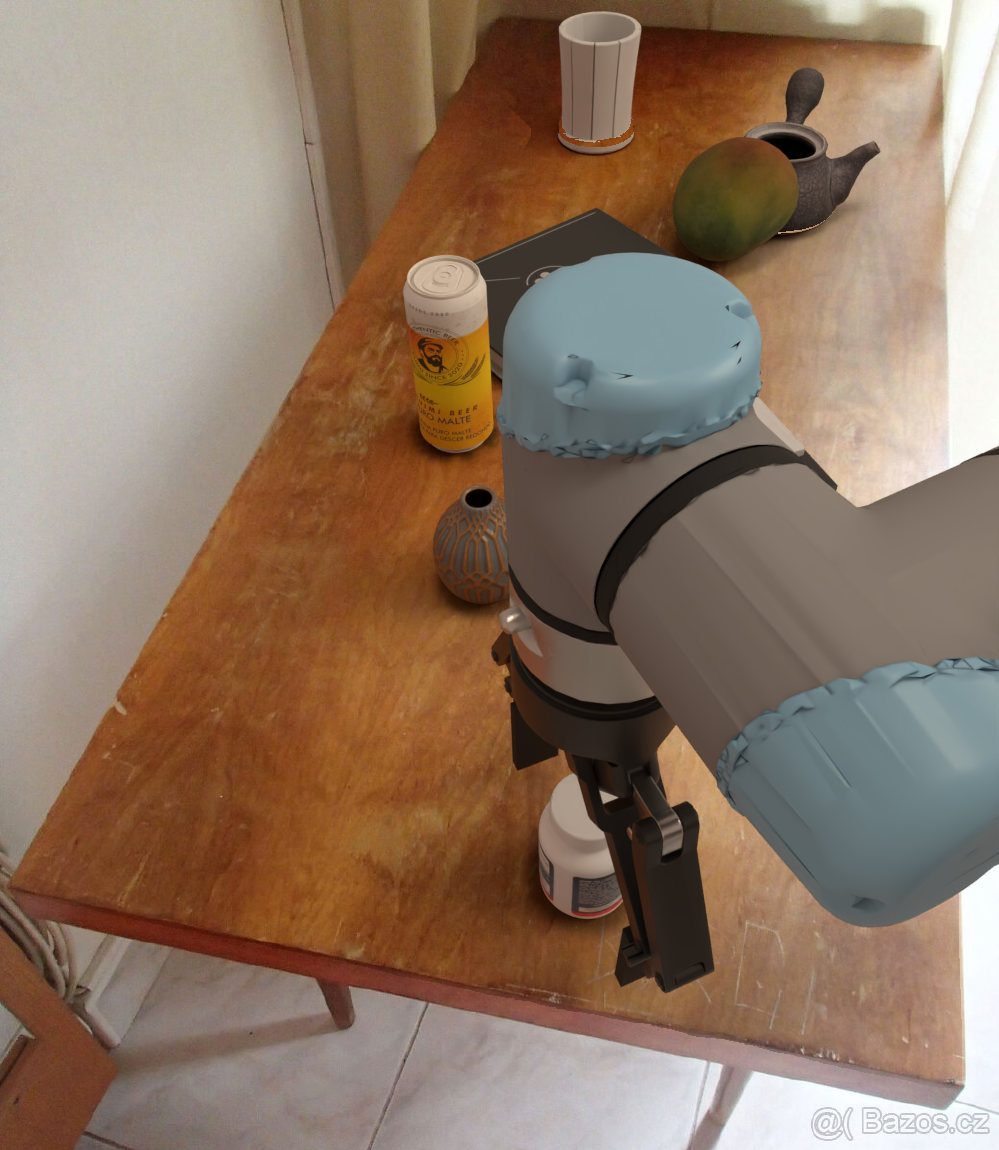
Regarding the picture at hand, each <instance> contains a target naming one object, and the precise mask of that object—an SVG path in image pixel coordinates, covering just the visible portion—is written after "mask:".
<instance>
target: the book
mask: <svg viewBox="0 0 999 1150" xmlns="http://www.w3.org/2000/svg"><path fill="white" fill-rule="evenodd" d="M616 253H650V254H658V255H665V256H670V257H675V258H678V257H677V256H675V255H674V254H672V253H671V252H669V251H667V250H666V249H664V248H662V247H661V246H660V245H658V244H657V243H655V242H653V241H652V240H649V239H648V238H646V237H645V236H644V235H642V234H640V233H638V232H637V231H635V230H634V229H632V228H631V227H629V226H627V225H626V224H624V223H623V222H621V221H619V220H618V219H616V218H615V217H613V216H611V215H610V214H608V213H606V211H603V210H602V209H600V208H599V207H594V208H592V209H589V210H587V211H585V212H583V213H581V214H578V215H575V216H573V217H571V218H569V219H567V220H564V221H562V222H560V223H557V224H555V225H553V226H551V227H548V228H546V229H544V230H541V231H539V232H537V233H535V234H534V233H533V235H530V236H527V237H525V238H523V239H521V240H519V241H516V242H513V243H511V244H509V245H507V246H505V247H503V248H500V249H498V250H496V251H493V252H491V253H488V254H486V255H483V256H481V257H480V258H479V257H478V258H477V259H475V260H471V261H472V262H473V263H475V264H476V265H477V267H478V268H479V270H480V274H481V276H482V277H483V279H484V280H485V283H486V289H487V309H488V328H489V347H490V366H491V374H493V375H495V377H497V378H499V380H501V381H502V376H503V338H504V332H505V327H506V325H507V322H508V319H509V317H510V315H511V313H512V311H513V309H514V308H515V306H516V304H517V302H518V301H519V300H520V298H521V297H522V296H523V295H524V294H525V292H526V291H527V290H528V289H529V288H531V287H532V286H533V285H534V284H535V283H537V282H538V281H539V280H540V279H542V278H544V277H545V276H547V275H548V274H550V273H552V272H553V271H555V270H557V269H559V268H561V267H566V266H574V265H576V264H580V263H584V262H586V261H588V260H590V259H591V258H592V257H596V256H601V255H608V254H616Z"/></svg>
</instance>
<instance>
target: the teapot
mask: <svg viewBox="0 0 999 1150" xmlns="http://www.w3.org/2000/svg"><path fill="white" fill-rule="evenodd" d="M824 90H825V78H824V76H823V73H821V72H820V71H819V70H817V69H815V68H812V67H808V66H807V67H801V68H799V69H797V70H795V71H794V72H792V75H791V76H790V78H789V80H788V82H787V85H786V90H785V94H784V99H785V110H786V118H785V121H773V122H767V123H764V124H760V125H756V126H754V127H752V128H750V129H749V130H748V131H747V132H746V133H745V134H744V136H743V137H750V138H756V139H760V140H763V141H766V142H768V143H770V144H771V145H773V146H775V147H776V148H778V149H779V150H780V151H781V152H782V153H783V154H785V155H786V157H787V158H788V159H789V161H790V162H791V164H792V165H793V167H794V169H795V172H796V174H797V179H798V185H799V197H798V202H797V205H796V208H795V210H794V212H793V214H792V216H791V218H790V219H789V221H788V222H787V224H786V225H785V226H784V227H783V228H782V229H781V230H780V231H779V232H786V231H794V230H802V229H806V228H809V227H813V226H815V225H817V224H820V223H821V222H823V221H824V220H826V219H827V218H828V217H829V216H830V215H831V216H832V215H833V213H834V212H835V210H836V208H837V207H838V206H839V205H842V204H843V203H844V202H846V200H847V198H849V196H850V194H851V191H852V189H853V187H854V185H855V183H856V181H857V179H858V177H859V176H860V174H861V172H862V170H863V169H864V167H865V166H866V165H867V164H868V163H869V162H870V161H871V160H872V159H873V158H875V157H876V156H878V155H879V154H881V152H882V151H881V148H880V146H878V144H877V142H876V141H874V140H872V141H870V142H868V143H865V144H862V145H859V146H858V147H856V148H854V149H853V150H851V151H849V152H848V153H847V154H845V155H842V156H838V157H835V158H834V157H833V158H830V157H829V156H827V150H828V147H829V144H828V141H827V139H826V137H825V136H824V135H823V134H822V133H821V132H819V131H818V130H817V129H815V128H813V127H811V126H808V125H805V121H806V119H807V118H808V117H809V116H810V114H811V113H812V112H813V111H814V110H815V109H816V108H817V107H818V105H819V104H820V102H821V100H822V96H823V92H824ZM833 211H834V212H833ZM832 212H833V213H832ZM831 216H830V217H831ZM830 217H829V218H830ZM829 218H828V219H829ZM828 219H827V220H828ZM827 220H826V221H827ZM818 227H819V226H817V227H815V228H816V229H817V228H818ZM815 228H812V229H809V230H806V231H802V232H797V233H796V234H799V233H800V234H801V233H804V232H808V231H811V230H814V229H815ZM792 234H794V233H781V234H780V235H792ZM776 235H779V234H778V233H777V234H776Z"/></svg>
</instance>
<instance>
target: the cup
mask: <svg viewBox="0 0 999 1150" xmlns="http://www.w3.org/2000/svg"><path fill="white" fill-rule="evenodd" d="M641 36H642V25H641V23H640V22H639V21H638V20H637V19H635V18H634V17H632V16H630V15H627V14H623V13H619V12H614V11H613V12H612V11H589V12H583V13H578V14H575V15H571V16H570V17H568V18H565V19H564V20H563V21H562V22H561V23H560V25H558V38H559V39H558V40H559V54H560V56H559V57H560V77H561V118H562V128H563V129H564V130H565V132H566V133H563V134H566V136H567V137H569V138H579V139H575V140H579V141H584V142H593V143H595V142H596V141H597V140H604V139H609V138H616V137H621V136H620V135H622V134H623V133H625V132H626V131H627V130H628V129H629V127H630V124H631V119H632V110H633V109H632V107H633V96H634V87H635V78H636V70H637V63H638V57H639V56H638V55H639V49H640V42H641ZM634 134H635V131H634V132H633V134H632V135H631V137H630V138H628V139H627V140H625V141H624V142H621V143H619V144H616V145H612V146H607V147H585V146H578V145H575V144H572V143H569V142H568V141H566V140H564V139H563V138H562V137H561V136H560V134H559V133H558V132H557V138H558V140H559V141H560V143H561V144H562V145H563V146H565V147H566V148H568V149H569V150H571V151H574V152H577V153H580V154H586V155H604V154H609V153H615V152H616V151H619V150H621V149H623V148H624V147H626V146H627V145H628V144H629V143H631V141H632V140H633V138H634V136H635V135H634ZM598 142H600V141H598Z"/></svg>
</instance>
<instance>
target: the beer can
mask: <svg viewBox="0 0 999 1150" xmlns="http://www.w3.org/2000/svg"><path fill="white" fill-rule="evenodd" d="M472 261H473V260H470V259H469V258H466V257H463V256H459V255H455V254H454V255H453V254H442V255H434V256H429V257H426V258H423V259H422V260H420V261H418V262H416V263H415V264H413V266H411V268H410V269H409V270H408V272H407V275H406V281H405V283H404V284H403V285H404V286H403V289H402V296H403V302H404V311H405V312H404V313H405V319H406V325H407V335H408V342H409V351H410V359H411V365H412V373H413V374H412V375H413V381H414V382H413V383H414V389H415V390H414V391H415V395H416V396H415V398H416V404H417V413H418V414H417V415H418V421H419V429H420V433H421V435H422V437H423V438H424V440H425V441H426V442H428V443H429V444H430V445H432V446H433V447H434V448H436V449H437V450H440V451H442V452H446V453H451V454H459V453H460V454H461V453H466V452H471V451H472V450H475V449H476V448H478V447H479V446H481V445H482V444H483V443H484V442H485V441H486V440H487V439H488V438H489V436H490V435H491V434H492V432H493V429H494V408H493V388H492V386H493V385H492V372H491V366H490V347H489V328H488V309H487V289H486V283H485V280H484V279H483V277H482V276H481V274H480V270H479V268H478V267H477V265H476V264H475V263H473V262H472Z"/></svg>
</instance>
